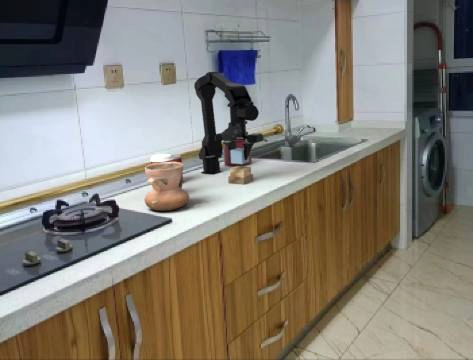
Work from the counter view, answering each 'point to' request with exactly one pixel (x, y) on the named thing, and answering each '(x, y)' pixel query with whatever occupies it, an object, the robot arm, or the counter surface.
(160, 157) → the coffee cup
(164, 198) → the ceramic jug
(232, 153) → the block
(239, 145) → the canister
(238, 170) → the tower mid
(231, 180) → the tower base
